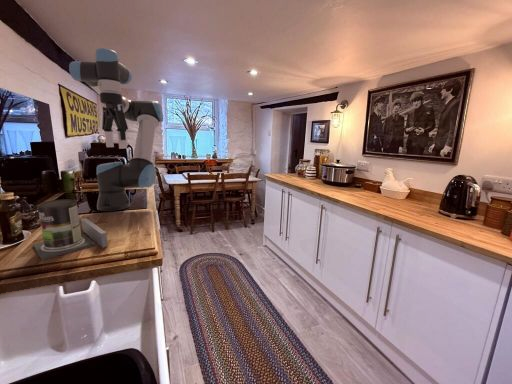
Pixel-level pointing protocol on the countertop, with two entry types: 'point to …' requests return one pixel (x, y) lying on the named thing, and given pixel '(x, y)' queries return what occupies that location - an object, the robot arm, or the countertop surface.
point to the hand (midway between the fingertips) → (116, 147)
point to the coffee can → (59, 223)
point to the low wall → (94, 232)
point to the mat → (49, 253)
